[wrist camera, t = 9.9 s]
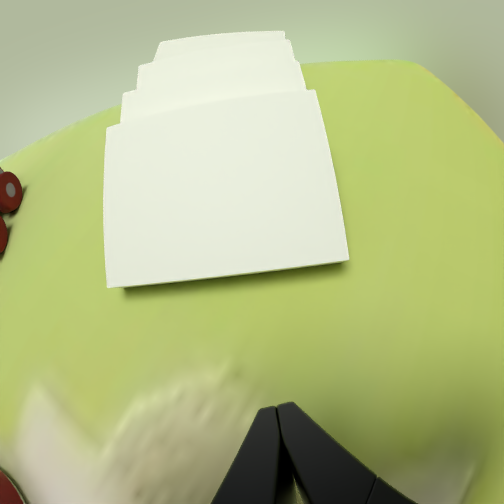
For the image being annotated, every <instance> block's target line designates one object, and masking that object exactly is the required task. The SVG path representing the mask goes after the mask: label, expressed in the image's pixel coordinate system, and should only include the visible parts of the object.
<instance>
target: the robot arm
mask: <svg viewBox="0 0 504 504" xmlns="http://www.w3.org/2000/svg"><path fill="white" fill-rule="evenodd" d="M294 479H295V481H294ZM295 482H296V485H297V488H298V491H299V493H300V495H301V498H302V500H303V503H304V504H418V503H416V502H414V501H413V500H411V499H409V498H408V497H406V496H405V495H403V494H402V493H400V492H399V491H397V490H396V489H395V488H393V487H392V486H390V485H389V484H388V483H387V482H385V481H384V480H383V479H382V478H380V477H377V475H376V474H375V473H374V472H373V471H371V470H370V469H369V468H368V467H366V466H365V465H364V464H363V463H362V462H360V461H359V460H358V459H357V458H356V457H354V456H353V455H352V454H351V453H350V452H349V451H347V450H346V449H345V448H344V447H343V446H342V445H340V444H339V443H338V442H337V441H336V440H335V439H334V438H332V437H331V436H330V435H329V434H328V433H327V432H326V431H325V430H323V429H322V428H321V427H320V426H319V425H318V424H317V423H316V422H315V421H313V420H312V419H311V418H310V417H309V416H308V415H307V414H306V413H305V412H304V411H303V410H302V409H301V408H299V407H298V406H297V405H296V404H295V403H294V402H287V403H283V404H279V405H277V408H276V407H275V406H270V407H266V408H261V409H259V410H258V412H257V415H256V417H255V419H254V421H253V423H252V425H251V427H250V429H249V431H248V433H247V435H246V437H245V439H244V441H243V443H242V445H241V447H240V449H239V451H238V453H237V455H236V457H235V459H234V461H233V463H232V465H231V467H230V469H229V471H228V473H227V474H226V476H225V478H224V480H223V482H222V484H221V486H220V487H219V489H218V491H217V493H216V495H215V497H214V498H213V500H212V502H211V504H296V490H295Z"/></svg>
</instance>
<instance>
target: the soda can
mask: <svg viewBox="0 0 504 504" xmlns="http://www.w3.org/2000/svg"><path fill="white" fill-rule="evenodd" d="M0 504H26V502H25V501H24V499H23V497H22V495H21V493H20V492H19V490H18V489H17V487H16V486H15V485H14V483H13V482H12V481H11V480H10V479H9V478H8V477H7V476H6V475H5V474H4V473H3V472H2V471H1V470H0Z"/></svg>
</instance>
